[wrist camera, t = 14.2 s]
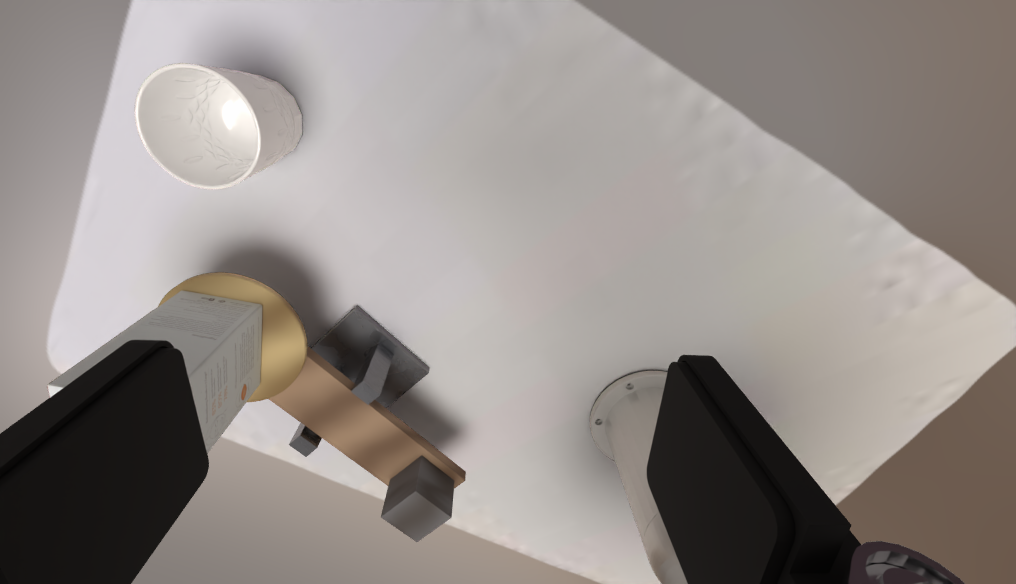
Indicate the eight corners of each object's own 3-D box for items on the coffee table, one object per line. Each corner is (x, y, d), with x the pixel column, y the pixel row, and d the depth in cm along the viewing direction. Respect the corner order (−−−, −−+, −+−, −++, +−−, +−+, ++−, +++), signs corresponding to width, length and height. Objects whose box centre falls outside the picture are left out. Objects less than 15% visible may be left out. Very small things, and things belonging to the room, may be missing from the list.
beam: (487, 451, 49) (487, 500, 44) (405, 512, 52) (395, 565, 46) (227, 235, 39) (183, 262, 34) (144, 325, 42) (90, 363, 36)
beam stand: (429, 367, 51) (419, 415, 44) (354, 430, 54) (333, 485, 47) (357, 305, 48) (334, 345, 41) (281, 375, 51) (246, 425, 44)
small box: (181, 287, 38) (42, 382, 26) (264, 303, 39) (166, 401, 27) (184, 373, 41) (61, 492, 29) (261, 385, 42) (172, 506, 30)
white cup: (230, 169, 42) (160, 194, 33) (200, 71, 39) (114, 68, 30) (320, 162, 43) (274, 184, 33) (297, 63, 39) (240, 58, 30)
